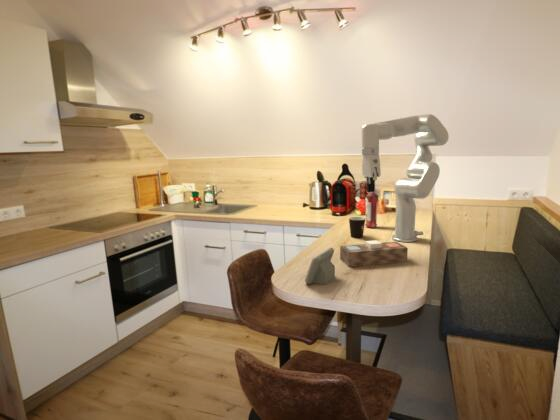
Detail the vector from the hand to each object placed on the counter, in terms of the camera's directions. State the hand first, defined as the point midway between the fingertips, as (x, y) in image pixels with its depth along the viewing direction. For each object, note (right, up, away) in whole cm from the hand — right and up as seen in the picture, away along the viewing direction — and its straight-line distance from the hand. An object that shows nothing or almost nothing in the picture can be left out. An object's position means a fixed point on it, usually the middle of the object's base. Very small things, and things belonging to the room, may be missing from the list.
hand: (370, 191), depth 167 cm
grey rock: (-27, -34, -32) cm, 54 cm away
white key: (-2, -26, -13) cm, 29 cm away
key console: (-2, -30, -13) cm, 33 cm away
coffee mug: (+1, -23, +28) cm, 36 cm away
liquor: (+12, -19, +48) cm, 53 cm away
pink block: (+7, -27, -12) cm, 31 cm away
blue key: (-11, -28, -15) cm, 34 cm away
